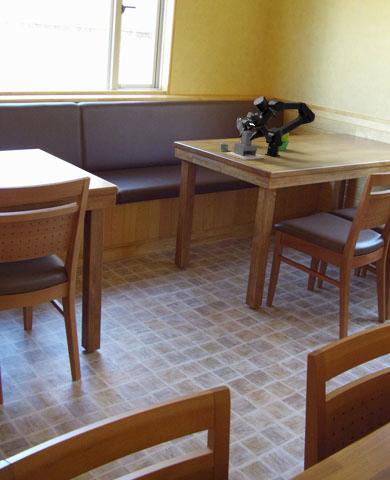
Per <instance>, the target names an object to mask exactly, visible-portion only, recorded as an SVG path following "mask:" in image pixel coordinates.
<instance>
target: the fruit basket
mask: <svg viewBox="0 0 390 480" xmlns="http://www.w3.org/2000/svg"><path fill="white" fill-rule="evenodd" d="M289 138H290V132H288V133H287V134H285V135H283V137H282V139H281V140H282V141H283V145H282V146H279V152H281V151H284V149H285V150H286V149H287V147H288V144H289V143H290V141H289Z"/></svg>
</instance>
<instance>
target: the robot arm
mask: <svg viewBox="0 0 390 480" xmlns="http://www.w3.org/2000/svg"><path fill="white" fill-rule="evenodd" d="M253 104H254V106H255V108H256V109H257V111H258V112H259V113H258V112H255V113H253V112H250V111H249V112H248V113H247V114H246V117H245V118H248V119H250V121H249V120H243V121H242V125H243V129H242V131H241V133H240V132H239V133H240V134H239V138H241V137H242V132H243V131H252V130H253V129H254V130H255V131H254V132H253V135H252V136H251V137H250V139H249V140H250V141H251V140H252V141H254V140H256V139H258V138H262V137H264V138H265V142H266V144H267V149H266V150H267V151H266V153H264V155H265V156H269V157H273V158H274V157H281V155H280V154H279V152H280V151H279V146H282V145H283V141H282V140H281V139H282V137H283V135H285V134H287V133H288V132H289V133H290V132H292V131H294V130H296V129H297V128H298V127H300V126H302V125H307V124H311V123H314V121H315V119H316V114H315V113H314V112H313V110H312V109H311V108H310V107H309V106H308V105H307V104H306V103H305V102H303V101H280V100H276V99H271V100H270V101H268V100H267V98H266V96H264V95H262V96H260V97H258V98H255V100H254V101H253ZM285 110H297V112H298V115H297V117H296V118H294V119H293V120H291V121H289V122H286V123H285V124H284V125H281V126H280V127H275V126H274V127H271V128H270V129H268V127H267V125H268V122H269V121H270V120H271V119H277V115H276V113H275V112H277V113H279V112H283V111H285Z"/></svg>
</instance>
